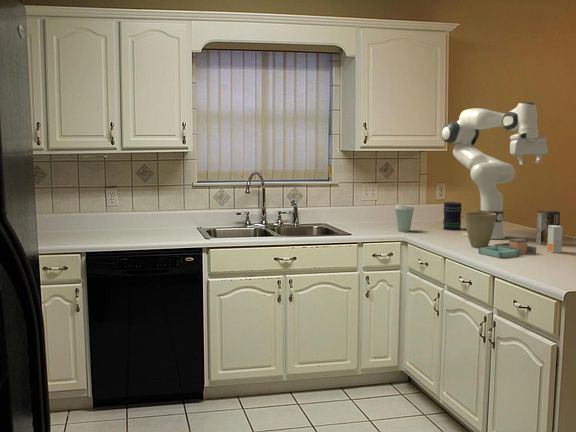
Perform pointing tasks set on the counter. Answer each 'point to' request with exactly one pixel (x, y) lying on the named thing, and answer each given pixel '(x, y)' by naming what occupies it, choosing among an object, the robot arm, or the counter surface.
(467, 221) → the plant pot
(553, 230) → the skincare box
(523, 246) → the orange-topped grey box
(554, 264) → the counter surface
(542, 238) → the coffee box
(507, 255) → the tray
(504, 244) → the bay
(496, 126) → the robot arm
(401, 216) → the disposable coffee cup
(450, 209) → the storage jar
